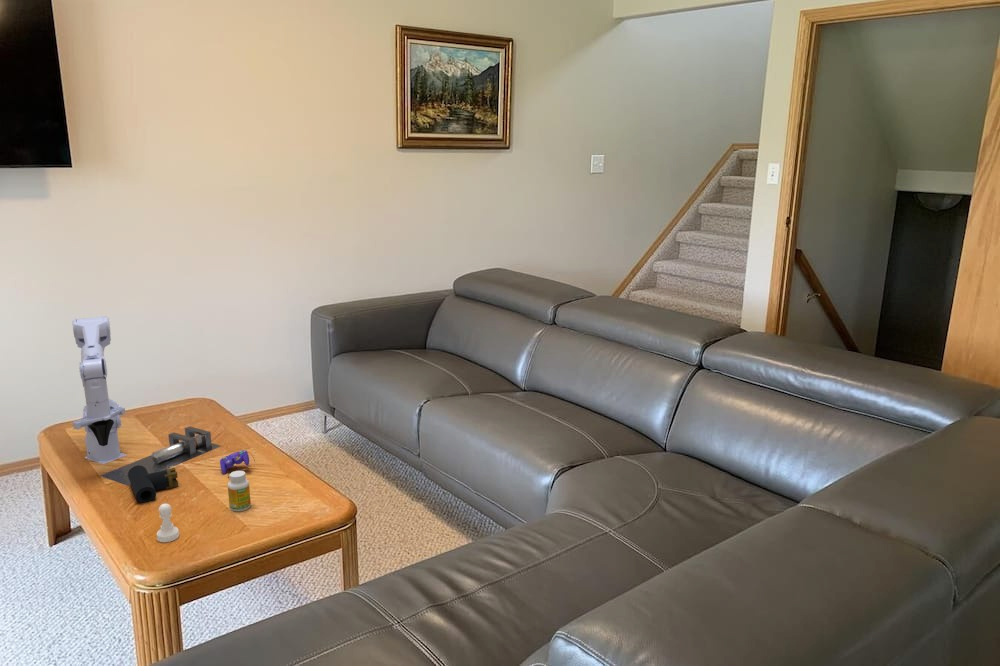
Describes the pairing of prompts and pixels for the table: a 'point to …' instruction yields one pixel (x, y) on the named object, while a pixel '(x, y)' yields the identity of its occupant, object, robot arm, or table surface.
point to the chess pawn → (166, 525)
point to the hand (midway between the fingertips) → (103, 444)
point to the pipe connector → (150, 482)
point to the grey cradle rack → (151, 467)
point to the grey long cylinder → (173, 450)
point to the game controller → (234, 460)
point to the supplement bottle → (239, 491)
